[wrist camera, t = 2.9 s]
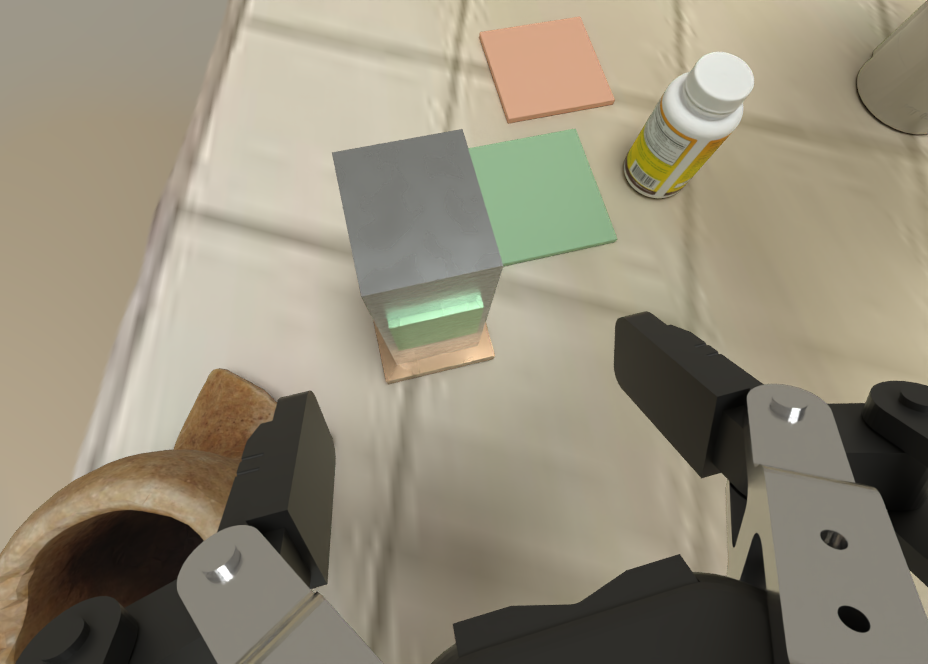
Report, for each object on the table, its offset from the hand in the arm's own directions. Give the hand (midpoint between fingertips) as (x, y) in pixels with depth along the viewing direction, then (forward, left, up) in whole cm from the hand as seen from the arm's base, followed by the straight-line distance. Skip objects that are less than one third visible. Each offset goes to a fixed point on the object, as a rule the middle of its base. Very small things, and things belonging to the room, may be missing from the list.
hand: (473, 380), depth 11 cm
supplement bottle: (-26, +11, -21) cm, 35 cm away
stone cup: (+8, -11, -21) cm, 25 cm away
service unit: (-8, -4, -21) cm, 22 cm away
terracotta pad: (-34, -1, -21) cm, 39 cm away
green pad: (-20, +1, -21) cm, 29 cm away
